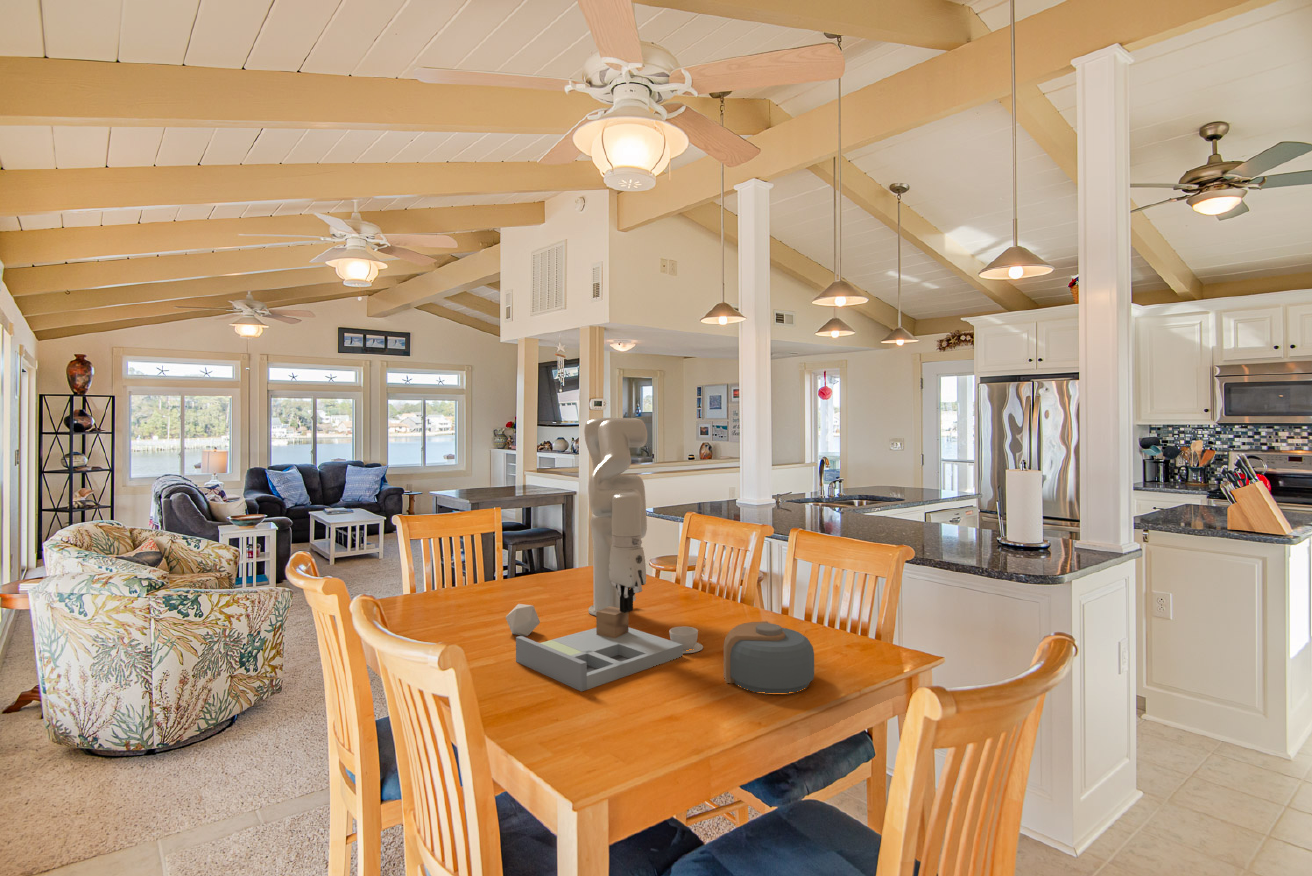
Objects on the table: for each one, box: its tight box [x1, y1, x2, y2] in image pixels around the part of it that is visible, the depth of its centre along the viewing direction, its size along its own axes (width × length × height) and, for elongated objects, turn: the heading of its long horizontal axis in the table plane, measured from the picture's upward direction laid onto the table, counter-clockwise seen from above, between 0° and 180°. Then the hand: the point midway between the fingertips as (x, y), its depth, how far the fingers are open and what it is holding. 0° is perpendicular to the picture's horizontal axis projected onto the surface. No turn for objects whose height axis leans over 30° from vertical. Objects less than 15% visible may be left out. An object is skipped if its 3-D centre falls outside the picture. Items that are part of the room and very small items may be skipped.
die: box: [505, 603, 541, 637], centre depth 184 cm, size 8×9×10 cm
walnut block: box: [595, 606, 629, 638], centre depth 174 cm, size 6×6×6 cm
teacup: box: [669, 625, 704, 654], centre depth 171 cm, size 10×10×5 cm
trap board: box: [515, 626, 684, 692], centre depth 163 cm, size 32×26×6 cm
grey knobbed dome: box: [723, 620, 815, 693], centre depth 150 cm, size 19×20×12 cm
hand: (626, 611), depth 172 cm, fingers closed
